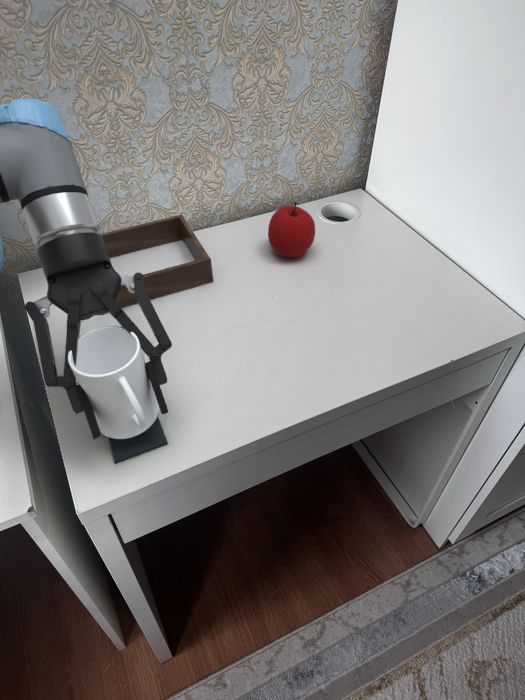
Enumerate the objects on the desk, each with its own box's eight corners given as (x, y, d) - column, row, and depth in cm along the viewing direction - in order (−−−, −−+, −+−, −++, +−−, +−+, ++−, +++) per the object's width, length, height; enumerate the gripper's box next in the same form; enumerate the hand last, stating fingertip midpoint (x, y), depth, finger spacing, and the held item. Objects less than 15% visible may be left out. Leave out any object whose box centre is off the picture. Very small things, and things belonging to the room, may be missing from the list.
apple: (260, 242, 96) (260, 196, 88) (302, 233, 98) (305, 187, 90) (277, 268, 90) (278, 221, 82) (321, 258, 92) (326, 211, 84)
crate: (87, 261, 92) (80, 238, 88) (185, 236, 97) (181, 214, 94) (105, 312, 82) (97, 289, 78) (213, 281, 87) (211, 259, 83)
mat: (115, 464, 61) (114, 462, 61) (104, 423, 66) (103, 421, 65) (168, 444, 63) (167, 442, 63) (153, 405, 68) (153, 403, 67)
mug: (179, 439, 60) (163, 378, 52) (113, 470, 58) (85, 411, 49) (146, 378, 67) (127, 315, 59) (86, 403, 65) (57, 340, 56)
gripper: (151, 228, 63) (206, 393, 64) (-16, 269, 57) (48, 449, 58) (155, 211, 55) (217, 397, 57) (-35, 256, 50) (38, 462, 51)
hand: (131, 423), depth 58 cm, fingers closed on mug, 7 cm apart
